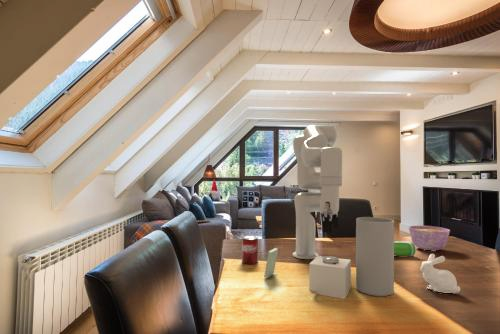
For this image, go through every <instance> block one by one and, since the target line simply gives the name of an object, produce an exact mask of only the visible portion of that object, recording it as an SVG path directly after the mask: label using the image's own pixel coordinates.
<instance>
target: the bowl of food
mask: <svg viewBox="0 0 500 334" xmlns="http://www.w3.org/2000/svg"><path fill="white" fill-rule="evenodd" d="M408 231H409V234H410V235H409V236H410V238H411V241H412V243H413V244H414V245H415V247H417V248H419V249H420V248H421V249H425V250H437V251H439V250H442V249H443V248H445V247H446V246H447V243H448V239H449V236H450V232H451V229H449V228H445V227H440V226H432V225H410V226H408ZM421 249H420V250H421ZM425 250H424V251H425Z"/></svg>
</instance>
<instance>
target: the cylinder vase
mask: <svg viewBox="0 0 500 334" xmlns="http://www.w3.org/2000/svg"><path fill="white" fill-rule="evenodd" d="M355 220H356V221H355V222H356V223H355V224H356V225H355V228H356V229H355V244H356V245H355V288H356V289H357V290H358V291H359V292H361V293H363V294H365V295H368V296H372V295H373V296H372V297H374V296H375V297H388V295H389V296H391V295H393V294H394V292H395V257H394V241H395V220H393V219H390V218H385V217H376V216H375V217H374V216H373V217H371V216H362V217H361V216H360V217H356V219H355Z"/></svg>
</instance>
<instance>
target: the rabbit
mask: <svg viewBox="0 0 500 334" xmlns="http://www.w3.org/2000/svg"><path fill="white" fill-rule="evenodd" d="M435 257H436V255H435V254H434V253H430V254H429V256H428V259H427V260H426V261H425V260H424V261H422V262H421V266H420V268H419V270H420V272H422V277H423V280H424V281H425V282H427V283H428V284H429V285H427V286H426V289H427V288H428V289H433V290H434V291H438V292H443V293H453V294H452V295H454V294H458V293H459V292H460V291H461V287H460V286H459V285H458V282H457V277H456V276H455V275H454V273H452V272H451V271H449V270H447V269H438V268H435V267H434V265H436V264H441V263H443V262H445V261H446V257H445V256H444V255H441V256H438V257H436V258H435ZM428 286H429V287H428ZM434 291H433V292H434Z"/></svg>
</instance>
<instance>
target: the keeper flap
mask: <svg viewBox="0 0 500 334" xmlns="http://www.w3.org/2000/svg"><path fill="white" fill-rule="evenodd" d="M278 251H279V248H277V247H274V248H273V249H270V250H269V251H268V252H267V257H266V258H267V259H266V264H265V265H266V266H265V270H264V274H263V275H264V278H266V279H267V278H268V277H269V276H271V275H272V274H275V270H276V263H277V257H278V253H279V252H278Z"/></svg>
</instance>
